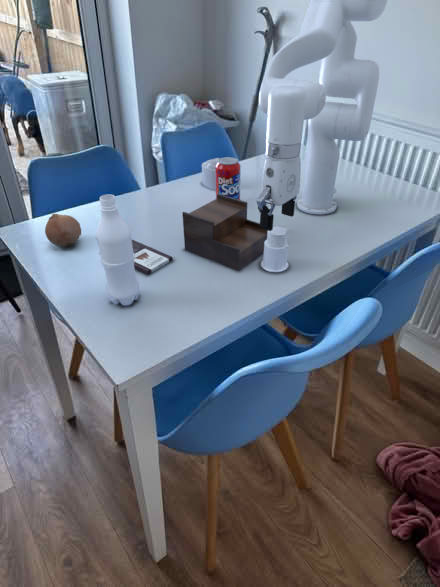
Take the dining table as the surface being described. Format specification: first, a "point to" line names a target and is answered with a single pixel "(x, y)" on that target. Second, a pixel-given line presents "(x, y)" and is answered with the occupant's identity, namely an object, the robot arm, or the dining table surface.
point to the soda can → (228, 177)
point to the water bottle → (116, 253)
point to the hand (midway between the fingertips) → (277, 221)
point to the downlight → (275, 250)
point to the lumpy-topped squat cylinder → (209, 173)
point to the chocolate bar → (148, 258)
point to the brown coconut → (62, 230)
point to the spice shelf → (224, 233)
